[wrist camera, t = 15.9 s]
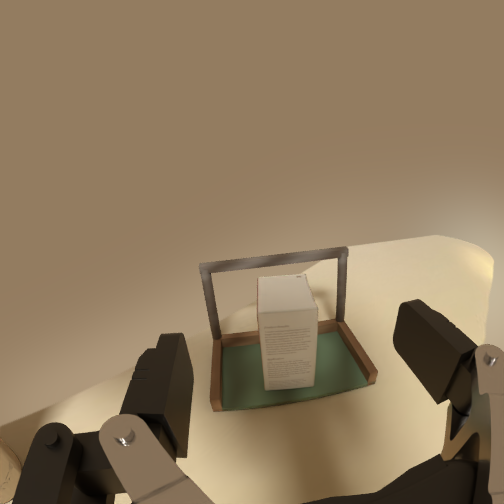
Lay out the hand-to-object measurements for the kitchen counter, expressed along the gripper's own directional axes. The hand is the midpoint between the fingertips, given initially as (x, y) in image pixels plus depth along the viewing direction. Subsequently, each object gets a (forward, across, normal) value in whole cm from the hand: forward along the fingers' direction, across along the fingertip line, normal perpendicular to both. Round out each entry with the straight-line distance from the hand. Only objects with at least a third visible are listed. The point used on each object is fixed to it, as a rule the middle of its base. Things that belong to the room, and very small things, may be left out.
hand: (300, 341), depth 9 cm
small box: (+17, -3, +17) cm, 24 cm away
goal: (+17, -3, +18) cm, 25 cm away
